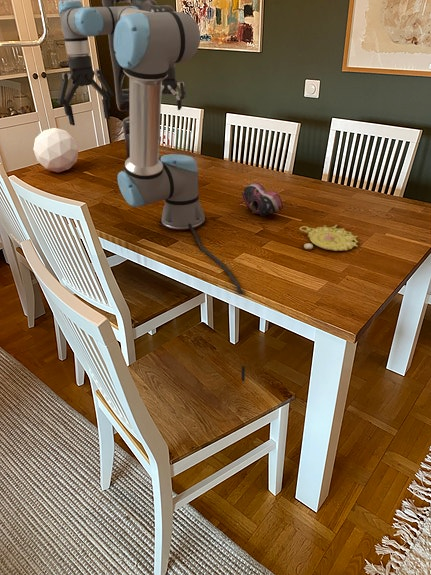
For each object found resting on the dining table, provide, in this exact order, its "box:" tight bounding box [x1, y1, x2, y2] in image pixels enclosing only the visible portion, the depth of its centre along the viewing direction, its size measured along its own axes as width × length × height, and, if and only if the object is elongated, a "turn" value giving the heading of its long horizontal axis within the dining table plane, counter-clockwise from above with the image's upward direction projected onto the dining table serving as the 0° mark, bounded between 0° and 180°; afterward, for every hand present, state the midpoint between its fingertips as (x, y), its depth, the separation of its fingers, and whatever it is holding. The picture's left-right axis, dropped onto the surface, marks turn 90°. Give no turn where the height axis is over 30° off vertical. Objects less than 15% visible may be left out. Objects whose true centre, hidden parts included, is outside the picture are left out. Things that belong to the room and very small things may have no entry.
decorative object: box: [299, 224, 359, 252], centre depth 141 cm, size 21×2×20 cm
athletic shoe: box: [238, 182, 284, 217], centre depth 160 cm, size 11×22×12 cm
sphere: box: [32, 127, 79, 173], centre depth 205 cm, size 19×20×20 cm
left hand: (169, 109), depth 182 cm, fingers open, 8 cm apart
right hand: (90, 121), depth 159 cm, fingers open, 13 cm apart
